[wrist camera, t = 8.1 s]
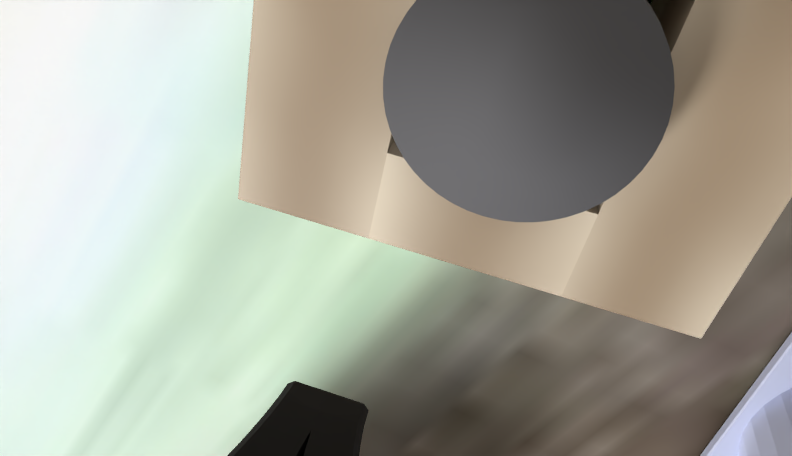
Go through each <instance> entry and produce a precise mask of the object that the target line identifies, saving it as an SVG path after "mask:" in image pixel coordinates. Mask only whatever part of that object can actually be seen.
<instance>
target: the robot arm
mask: <svg viewBox="0 0 792 456" xmlns="http://www.w3.org/2000/svg"><path fill="white" fill-rule="evenodd" d="M367 414H368V409H367V408H366V406H365V405H364V404H363V403H360V402H357V401H354V400H351V399H348V398H345V397H342V396H339V395H336V394H333V393H330V392H327V391H324V390H321V389H317V388H314V387H311V386H308V385H305V384H302V383H299V382H296V381H294V382H291V383H288V384H287V386H286V387H285V388H284V390H283V391H282V393H281V394H280V395H279V397H278V398H277V399H276V401H275V402H274V403H273V405H272V406H271V407H270V408H269V410H268V411H267V412H266V413H265V415H264V416H263V417H262V418H261V419H260V420H259V422H258V423H257V424H256V425H255V426H254V427H253V429H252V430H251V431H250V432H249V433H248V434H247V435H246V436H245V438H244V439H243V440H242V441H241V442H240V443H239V444H238V445H237V446H236V447H235V448H234V449H233V450H232V451H231V452H230V453H229V455H228V456H359V452H360V444H361V439H362V433H363V429H364V424H365V421H366V417H367ZM700 456H792V332H791V334H790V335H789V336H788V338H787V339H786V340H785V342H784V343H783V344H782V346H781V347H780V348H779V350H778V351H777V353H776V354H775V355H774V357H773V358H772V359H771V361H770V362H769V363H768V365H767V366H766V367H765V369H764V370H763V371H762V373H761V374H760V375H759V377H758V378H757V380H756V381H755V382H754V384H753V385H752V386H751V388H750V389H749V390H748V392H747V393H746V394H745V396H744V397H743V398H742V400H741V401H740V402H739V404H738V405H737V406H736V408H735V409H734V411H733V412H732V413H731V415H730V416H729V417H728V419H727V420H726V421H725V423H724V424H723V425H722V427H721V428H720V429H719V431H718V432H717V433H716V435H715V436H714V438H713V439H712V440H711V442H710V443H709V444H708V446H707V447H706V448H705V450H704V451H703V452H702V454H701V455H700Z"/></svg>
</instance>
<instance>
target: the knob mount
mask: <svg viewBox="0 0 792 456" xmlns="http://www.w3.org/2000/svg"><path fill="white" fill-rule="evenodd" d="M415 1H416V0H254V5H253V18H252V31H251V43H250V56H249V68H248V81H247V94H246V106H245V119H244V131H243V144H242V157H241V169H240V182H239V195H238V199H240V200H243V201H246V202H250V203H253V204H256V205H260V206H263V207H266V208H270V209H273V210H276V211H280V212H283V213H286V214H290V215H293V216H296V217H299V218H303V219H306V220H309V221H313V222H316V223H319V224H323V225H326V226H329V227H333V228H336V229H339V230H343V231H346V232H349V233H353V234H356V235H359V236H362V237H366V238H369V239H372V240H376V241H379V242H382V243H386V244H389V245H392V246H396V247H399V248H402V249H406V250H409V251H412V252H416V253H419V254H422V255H425V256H429V257H432V258H435V259H439V260H442V261H445V262H449V263H452V264H455V265H459V266H462V267H465V268H469V269H472V270H475V271H478V272H482V273H485V274H488V275H492V276H495V277H498V278H502V279H505V280H508V281H512V282H515V283H518V284H522V285H525V286H528V287H532V288H535V289H538V290H541V291H545V292H548V293H551V294H555V295H558V296H561V297H565V298H568V299H571V300H575V301H578V302H581V303H585V304H588V305H591V306H594V307H598V308H601V309H604V310H608V311H611V312H614V313H618V314H621V315H624V316H628V317H631V318H634V319H638V320H641V321H644V322H648V323H651V324H654V325H657V326H661V327H664V328H667V329H671V330H674V331H677V332H681V333H684V334H687V335H691V336H694V337H697V338H702V336H703V335H704V333H705V332H706V330H707V328H708V327H709V325H710V324H711V322H712V321H713V319H714V317H715V316H716V314H717V313H718V311H719V310H720V308H721V307H722V305H723V303H724V302H725V300H726V299H727V297H728V296H729V294H730V292H731V291H732V289H733V288H734V286H735V285H736V283H737V282H738V280H739V278H740V277H741V275H742V274H743V272H744V271H745V269H746V267H747V266H748V264H749V263H750V261H751V260H752V258H753V257H754V255H755V253H756V252H757V250H758V249H759V247H760V246H761V244H762V242H763V241H764V239H765V238H766V236H767V235H768V233H769V232H770V230H771V228H772V227H773V225H774V224H775V222H776V221H777V219H778V217H779V216H780V214H781V213H782V211H783V210H784V208H785V207H786V205H787V203H788V202H789V200H790V199H791V197H792V0H653V1H652V3H651V7H652V9H653V10H654V12H655V14H656V16H657V18H658V19H659V21H660V23H661V26H662V29H663V31H664V34H665V37H666V39H667V42H668V45H669V48H670V52H671V57H672V62H673V67H674V83H675V89H674V99H673V107H672V111H671V115H670V120H669V124H668V126H667V129H666V131H665V134H664V136H663V139H662V141H661V143H660V145H659V146H658V148H657V150H656V152H655V153H654V155H653V157H652V158H651V159H650V161H649V162H648V163H647V165H646V166H645V167H644V169H643V170H642V171H641V172H640V173H639V174H638V175H637V176H636V177H635V178H634V179H633V180H632V181H631V182H630V183H629V184H628V185H627V186H626V187H624V188H623V189H622V190H621V191H619V192H618V193H617V194H616V195H614V196H613V197H611V198H609V199H608V200H606V201H604V202H603V203H601V204H599V205H597V206H595V207H593V208H591V209H589V210H586V211H584V212H581V213H578V214H575V215H572V216H569V217H566V218H561V219H556V220H551V221H542V222H511V221H503V220H497V219H493V218H488V217H484V216H481V215H478V214H475V213H473V212H470V211H467V210H465V209H463V208H461V207H459V206H457V205H455V204H453V203H451V202H450V201H448V200H446V199H445V198H443V197H442V196H440V195H439V194H437V193H436V192H435V191H434V190H432V189H431V188H430V187H429V186H428V185H426V184H425V183H424V182H423V181H422V180H421V179H420V178H419V177H418V176H417V175H416V173H415V172H414V171H413V170H412V169H411V167H410V166H409V165H408V163H407V162H406V161H405V159H404V158H403V156H402V154H401V152H400V151H399V149H398V147H397V145H396V143H395V141H394V138H393V136H392V134H391V131H390V129H389V125H388V121H387V118H386V114H385V107H384V100H383V76H384V68H385V62H386V58H387V54H388V51H389V47H390V44H391V42H392V39H393V37H394V35H395V32H396V30H397V28H398V26H399V25H400V23H401V21H402V20H403V18H404V16H405V15H406V13H407V12H408V10H409V9H410V8H411V6H412V5H413V4H414V3H415Z"/></svg>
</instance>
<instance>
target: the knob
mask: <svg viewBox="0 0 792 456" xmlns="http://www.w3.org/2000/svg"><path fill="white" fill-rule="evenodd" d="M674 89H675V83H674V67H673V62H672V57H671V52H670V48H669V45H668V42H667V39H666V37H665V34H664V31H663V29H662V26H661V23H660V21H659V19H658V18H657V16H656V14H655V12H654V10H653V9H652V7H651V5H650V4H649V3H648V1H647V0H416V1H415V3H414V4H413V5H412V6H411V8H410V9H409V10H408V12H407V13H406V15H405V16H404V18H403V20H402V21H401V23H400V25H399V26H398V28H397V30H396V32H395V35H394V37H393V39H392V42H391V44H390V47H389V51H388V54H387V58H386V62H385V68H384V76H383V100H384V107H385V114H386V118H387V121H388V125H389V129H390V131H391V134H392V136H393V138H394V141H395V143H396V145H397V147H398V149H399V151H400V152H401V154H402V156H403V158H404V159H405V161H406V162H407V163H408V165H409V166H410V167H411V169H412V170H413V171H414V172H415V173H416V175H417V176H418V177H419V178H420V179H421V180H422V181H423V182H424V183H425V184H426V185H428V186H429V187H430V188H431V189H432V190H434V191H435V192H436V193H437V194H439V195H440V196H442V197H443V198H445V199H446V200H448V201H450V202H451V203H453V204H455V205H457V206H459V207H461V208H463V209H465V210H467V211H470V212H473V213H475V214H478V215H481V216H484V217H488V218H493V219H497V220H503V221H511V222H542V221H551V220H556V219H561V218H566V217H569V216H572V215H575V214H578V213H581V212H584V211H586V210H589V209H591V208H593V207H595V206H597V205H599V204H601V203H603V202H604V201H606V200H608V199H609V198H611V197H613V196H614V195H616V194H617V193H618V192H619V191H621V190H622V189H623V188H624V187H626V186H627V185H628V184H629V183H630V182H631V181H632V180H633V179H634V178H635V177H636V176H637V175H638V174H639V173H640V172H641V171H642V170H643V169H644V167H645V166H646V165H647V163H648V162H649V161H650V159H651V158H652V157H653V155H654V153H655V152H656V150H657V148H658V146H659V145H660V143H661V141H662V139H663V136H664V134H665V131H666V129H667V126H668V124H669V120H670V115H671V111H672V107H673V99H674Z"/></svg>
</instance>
